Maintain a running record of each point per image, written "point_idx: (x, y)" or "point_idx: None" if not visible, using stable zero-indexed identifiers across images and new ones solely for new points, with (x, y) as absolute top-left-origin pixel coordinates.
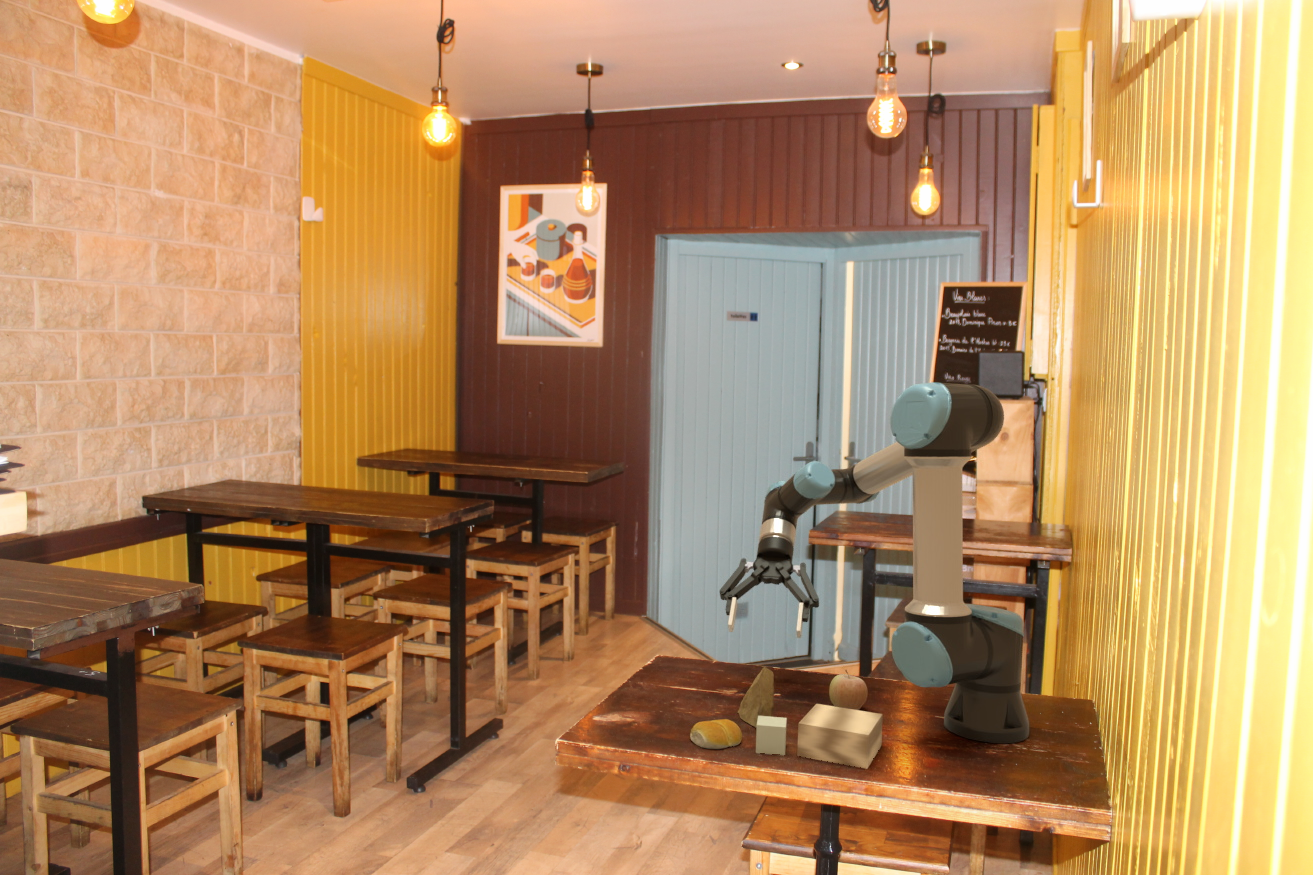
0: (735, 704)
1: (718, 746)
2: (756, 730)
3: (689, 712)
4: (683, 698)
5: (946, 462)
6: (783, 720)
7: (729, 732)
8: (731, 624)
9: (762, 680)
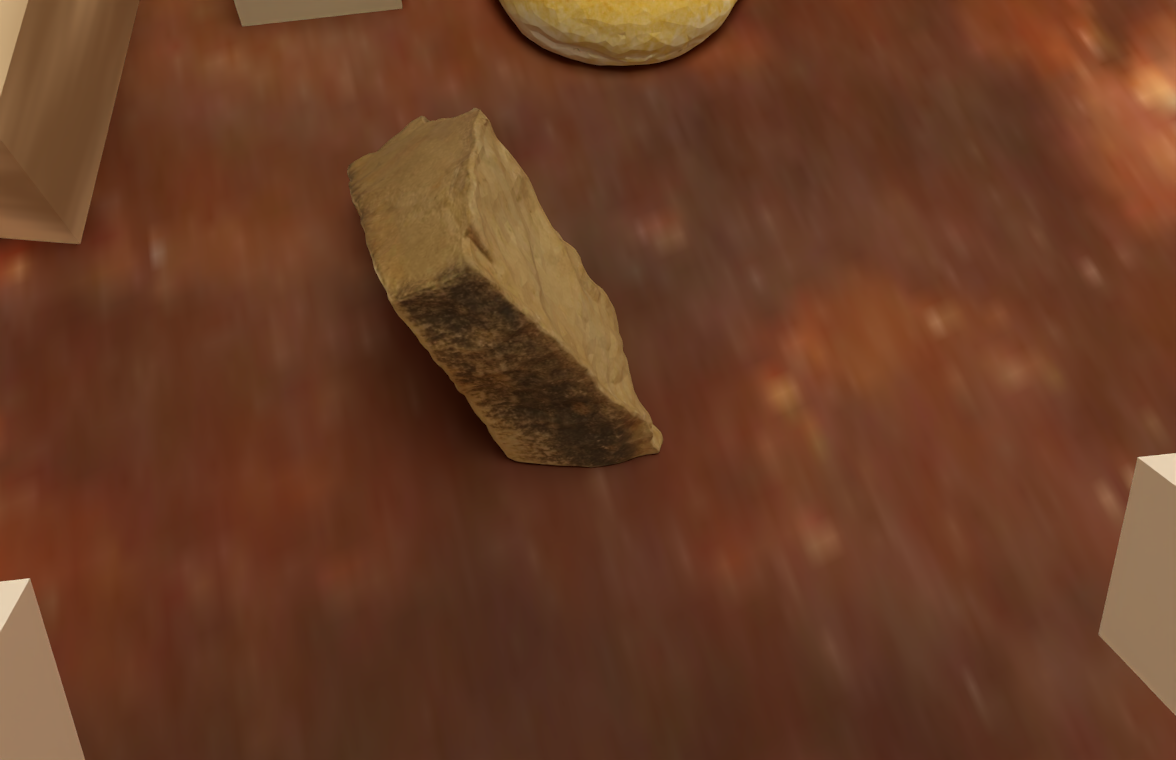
0: (731, 606)
1: None
2: None
3: (934, 316)
4: (1106, 572)
5: None
6: None
7: None
8: (1143, 460)
9: (448, 147)
